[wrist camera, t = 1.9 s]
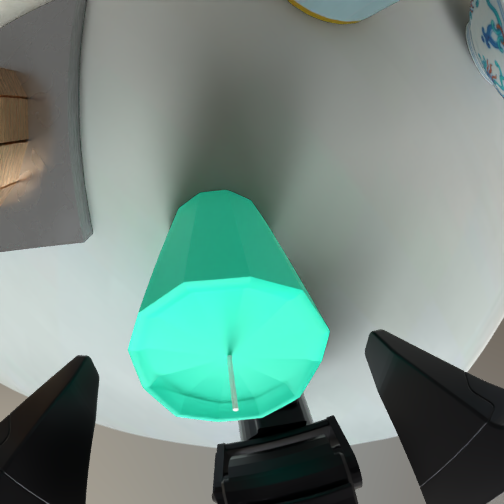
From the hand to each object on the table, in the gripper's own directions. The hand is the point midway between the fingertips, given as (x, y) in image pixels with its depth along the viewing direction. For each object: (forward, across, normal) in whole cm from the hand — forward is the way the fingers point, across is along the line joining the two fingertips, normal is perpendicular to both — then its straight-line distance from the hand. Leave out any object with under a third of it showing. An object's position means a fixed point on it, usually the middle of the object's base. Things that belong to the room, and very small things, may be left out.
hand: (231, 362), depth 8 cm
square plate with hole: (+10, +16, -9) cm, 21 cm away
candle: (+10, 0, 0) cm, 10 cm away
